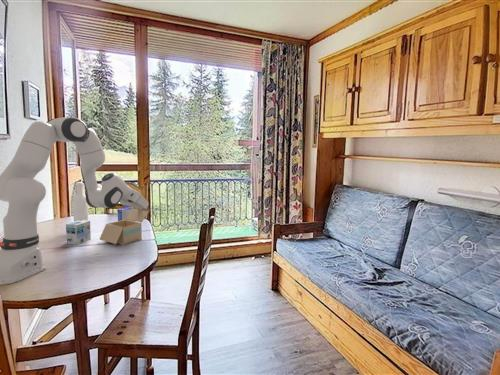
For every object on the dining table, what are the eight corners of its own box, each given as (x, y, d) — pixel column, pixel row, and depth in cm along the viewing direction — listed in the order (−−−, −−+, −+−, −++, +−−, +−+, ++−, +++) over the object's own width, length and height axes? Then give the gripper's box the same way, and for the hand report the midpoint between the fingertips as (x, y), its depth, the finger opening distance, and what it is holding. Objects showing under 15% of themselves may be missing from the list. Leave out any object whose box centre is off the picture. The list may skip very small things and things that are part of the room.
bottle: (72, 231, 185) (69, 181, 181) (86, 229, 191) (84, 181, 187) (76, 234, 180) (74, 183, 176) (91, 231, 186) (89, 182, 182)
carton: (116, 246, 160) (115, 229, 159) (99, 242, 167) (98, 225, 166) (141, 239, 174) (141, 222, 173) (125, 234, 181) (124, 219, 180)
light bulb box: (77, 245, 161) (76, 225, 160) (66, 243, 162) (65, 224, 161) (91, 239, 172) (90, 220, 170) (80, 238, 173) (80, 219, 171)
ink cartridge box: (130, 224, 205) (130, 203, 203) (136, 226, 202) (135, 204, 200) (117, 227, 196) (116, 205, 194) (122, 229, 193) (122, 206, 191)
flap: (149, 209, 178) (150, 209, 178) (134, 206, 184) (134, 206, 185) (141, 222, 173) (141, 222, 174) (125, 218, 180) (126, 219, 180)
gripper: (110, 197, 174) (125, 211, 184) (135, 201, 164) (149, 216, 174) (117, 188, 178) (131, 202, 187) (141, 192, 168) (155, 207, 177)
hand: (140, 209), depth 181 cm, fingers closed, pressing on flap
